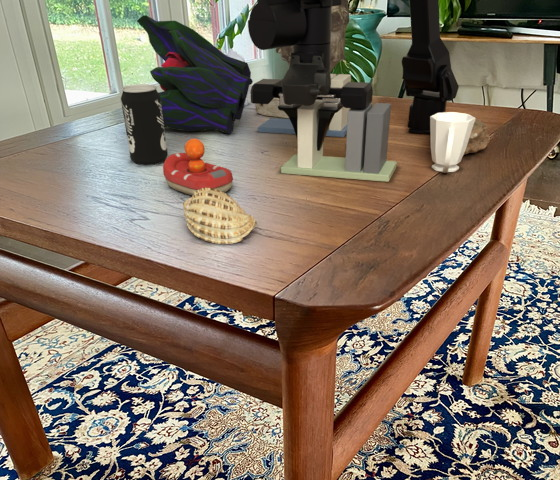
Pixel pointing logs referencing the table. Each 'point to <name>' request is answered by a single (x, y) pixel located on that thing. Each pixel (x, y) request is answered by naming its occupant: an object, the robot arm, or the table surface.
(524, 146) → the table surface
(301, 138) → the white box
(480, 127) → the rock
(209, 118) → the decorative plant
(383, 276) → the table surface
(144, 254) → the table surface
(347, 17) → the sculpture
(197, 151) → the toy boat
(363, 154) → the green base board
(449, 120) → the cup
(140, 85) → the beverage can
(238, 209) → the seashell
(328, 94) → the robot arm
